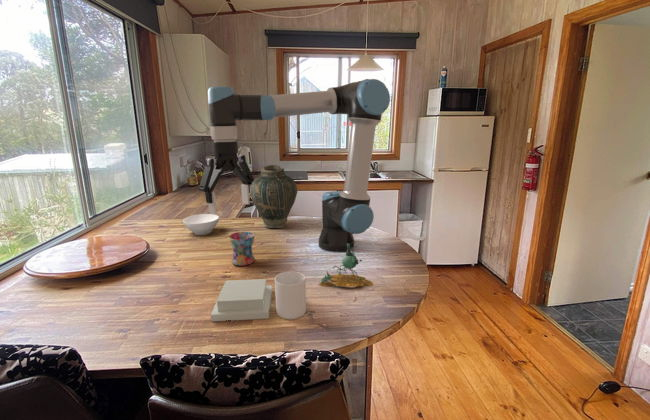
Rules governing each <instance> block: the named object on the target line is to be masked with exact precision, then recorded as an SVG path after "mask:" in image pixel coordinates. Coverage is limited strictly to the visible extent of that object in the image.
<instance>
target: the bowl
mask: <svg viewBox="0 0 650 420" xmlns="http://www.w3.org/2000/svg"><path fill="white" fill-rule="evenodd" d="M219 221H220V216H219V215H217V214H213V213H199V214H193V215H190V216H189V215H188V216H187V217H184V218H183V220H182V223H183V226H185V227H186V228H187V229H188V230H189V231H191V232H192V233H193V234H194V235H195V236H205V235H209V234H211V233H212V231H213V229H215V227H216V226H217V224H218V223H219Z"/></svg>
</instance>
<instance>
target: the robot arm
mask: <svg viewBox="0 0 650 420" xmlns="http://www.w3.org/2000/svg"><path fill="white" fill-rule="evenodd" d="M390 95H391V94H390V91H389V89H388V87H387V85H386V84H385V83H384V82H383V81H381V80H379V79H375V78H371V79H370V78H366V79H362V80H358V81H353V82H350V83H347V84H343V85H340V86H335V87H334V86H333V87H328V88H327V89H326V90H322V91H321V90H320V91H310V92H309V91H307V92H306V91H305V92H298V93H297V92H296V93H286V94H285V93H282V94H271V95H269V94H268V95H267V94H237V93H235V90H234V88H233V87H231V86H219V85H218V86H211V87H209V88H208V90H207V105H208V114H209V115H208V116H209V124H210V135H211V140H213V141H212V142H211V147H212V153H213V155H214V158H205V160H204V164H205V165H204V169H203V174H202V177H201V179H200V183H199V187H198V191H200V192H203V193H204V194H205V195H204V196H205V202H206V204H207V205H208V214H214V215H217V214H218V211H217V210H218V209H217V199H216V192H214V190H215V187H216V185H217V184H218V183H219V180H220V178H221V176H222V175H223V174H224V173H227V172H229V171H230V172H233V173H234V174H235V175H236V177H237V178H238V179H239V180H240V182H241V183H242V184H240V190H241V191H240V192H241V201H242V203H241V204H243V205H250V204H251V203H250V195H251V186H252V183H253V181H254V180H255V178H254V176H253V174H252V172H251V170H250V167H249V165H248V163H247V159H246V155H244V154H238V153H239V144H238V141H237V139H238V129H237V121H244V122H245V121H272V120H274V118H283V117H291V116H302V115H312V114H321V113H322V114H323V113H328V114H330V115H347V119H348V121H349V122H350V125H351V127H350V133H349V134H350V135H349V143H348V150H347V158H346V159H347V160H346V168H345V177H344V178H345V179H344V185H343V190H335V191H333V190H332V191H327V192H324V193H323V194H322V200H321V205H322V206H321V208H322V209H321V210H322V216H321V217H322V229H321V232H320V235H319V238H318V247H319V248H320V249H322V250H324V251H328V252H347V251H348V249H347V243H349V244H350V249H351V250H353V248H354V247H355V238H354V235H358V234H359V235H360V234H362V233H365V232H366V231H367V230H369V228H370V227H371V226H372V224H373V222H374V218H375V215H374V211H373V210H372V207H371V206H370V205H371V196H370V195H369V194H368V188H369V180H370V172H371V164H372V159H373V157H372V155H373V151H374V150H373V149H374V143H375V142H374V141H375V134H376V127H377V126H378V125H379V124H380V123H381V122H382V116H383V113H385V112H386V110H387V109H388V108H389V105H390V101H391V96H390ZM353 234H354V235H353Z"/></svg>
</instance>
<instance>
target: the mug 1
mask: <svg viewBox="0 0 650 420" xmlns="http://www.w3.org/2000/svg"><path fill="white" fill-rule="evenodd" d="M227 238H228V240H229V241H230V244H231V246H232V251H233V254H232V259H231V264H233V265H236V266H240V267H241V266H247V265H250V264H253V263H254V262H255V260H256V258H255V256H254V254H253V244H254V241H255V233H254V232H251V231H237V232H234V233H230V234H229V235H228V237H227Z"/></svg>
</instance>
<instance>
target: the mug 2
mask: <svg viewBox="0 0 650 420" xmlns="http://www.w3.org/2000/svg"><path fill="white" fill-rule="evenodd" d="M306 283H307V280H306V276H305V274H304V273H302V272H299V271H290V270H289V271H283V272H280V273H278V274H276V275H275V277H274V292H275V293H274V294H275V309H276V310H275V311H276V314H277V315H278V316H279V317H280V318H281V319H284V320H295V319H299V318H301V317H303V316H304V315H305V313H306V312H307V311H306V310H307V297H306V296H307V292H306V291H307V288H306V287H307V286H306V285H307V284H306Z"/></svg>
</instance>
